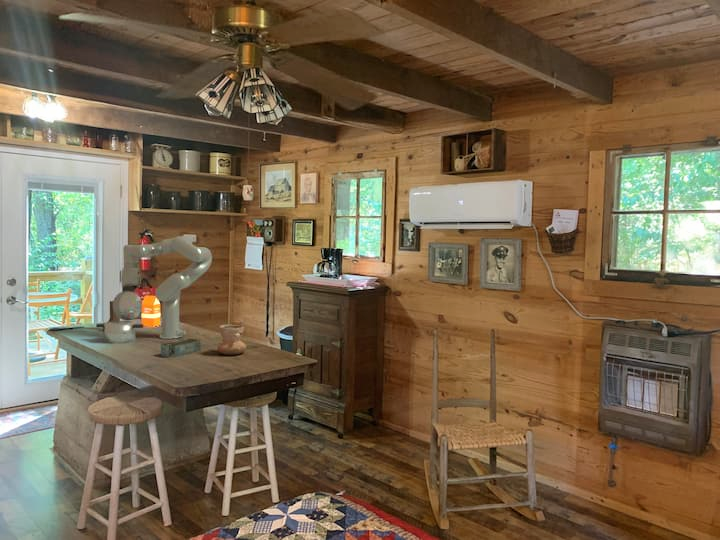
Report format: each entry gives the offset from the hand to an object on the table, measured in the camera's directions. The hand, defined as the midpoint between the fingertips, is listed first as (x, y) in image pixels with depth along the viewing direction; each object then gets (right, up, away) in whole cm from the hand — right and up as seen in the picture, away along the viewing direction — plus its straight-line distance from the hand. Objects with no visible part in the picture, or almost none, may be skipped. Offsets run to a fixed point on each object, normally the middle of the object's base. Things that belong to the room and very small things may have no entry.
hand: (131, 297), depth 325 cm
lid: (0, -3, -5) cm, 6 cm away
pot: (-1, -24, -13) cm, 27 cm away
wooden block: (-20, -22, +18) cm, 35 cm away
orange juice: (-1, -21, +35) cm, 41 cm away
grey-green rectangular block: (+43, -27, -43) cm, 67 cm away
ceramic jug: (+68, -27, -41) cm, 84 cm away
